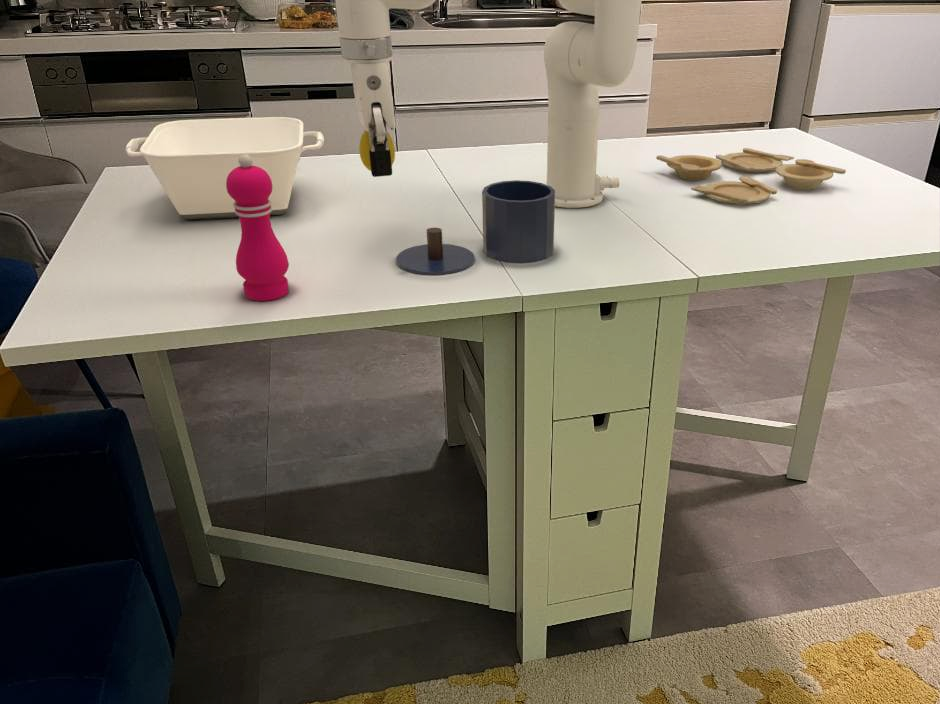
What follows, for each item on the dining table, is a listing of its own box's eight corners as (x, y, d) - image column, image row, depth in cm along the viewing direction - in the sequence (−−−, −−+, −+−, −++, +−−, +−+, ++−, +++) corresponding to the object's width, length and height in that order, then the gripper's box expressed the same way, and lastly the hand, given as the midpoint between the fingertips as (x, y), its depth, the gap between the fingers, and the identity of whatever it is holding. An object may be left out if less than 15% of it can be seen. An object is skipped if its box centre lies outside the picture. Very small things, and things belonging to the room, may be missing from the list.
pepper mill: (247, 283, 125) (223, 148, 114) (296, 282, 125) (276, 147, 115) (236, 303, 119) (209, 162, 108) (288, 302, 119) (266, 161, 109)
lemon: (390, 182, 132) (385, 130, 127) (357, 180, 133) (351, 128, 128) (402, 171, 136) (397, 121, 132) (370, 170, 137) (364, 120, 133)
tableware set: (756, 154, 195) (759, 136, 192) (856, 187, 173) (860, 167, 171) (636, 174, 179) (638, 154, 177) (729, 212, 158) (732, 191, 155)
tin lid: (465, 247, 139) (464, 214, 137) (482, 274, 129) (482, 239, 126) (391, 253, 136) (388, 220, 133) (403, 282, 126) (400, 247, 123)
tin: (541, 239, 143) (542, 178, 138) (562, 262, 134) (564, 198, 129) (476, 244, 140) (475, 183, 135) (493, 269, 131) (492, 204, 126)
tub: (129, 233, 142) (110, 157, 136) (153, 188, 164) (138, 121, 158) (332, 221, 149) (323, 149, 142) (329, 179, 171) (322, 115, 165)
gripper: (400, 57, 118) (411, 183, 128) (383, 39, 132) (394, 154, 142) (347, 60, 116) (362, 188, 126) (335, 41, 130) (349, 157, 140)
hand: (379, 168), depth 134 cm, fingers closed on lemon, 5 cm apart
